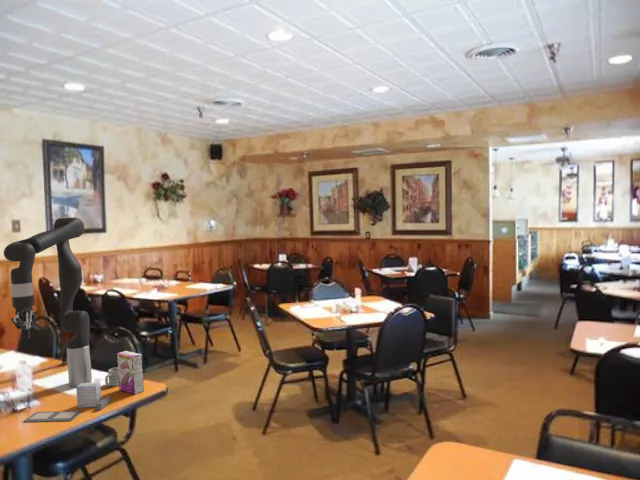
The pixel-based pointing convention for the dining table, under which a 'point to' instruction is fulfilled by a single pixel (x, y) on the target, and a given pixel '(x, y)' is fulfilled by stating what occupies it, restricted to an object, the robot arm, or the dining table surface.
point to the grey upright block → (88, 394)
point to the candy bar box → (130, 372)
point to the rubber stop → (103, 403)
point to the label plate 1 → (40, 416)
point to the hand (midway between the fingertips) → (26, 338)
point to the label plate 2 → (65, 416)
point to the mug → (112, 377)
